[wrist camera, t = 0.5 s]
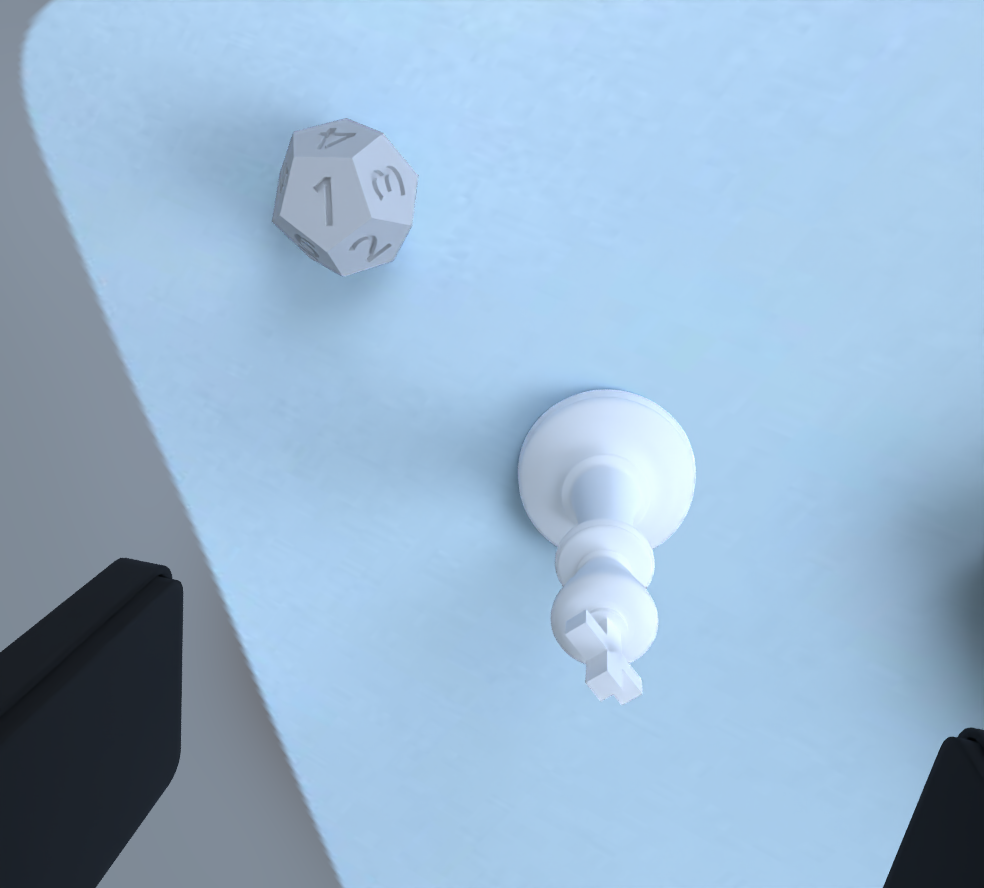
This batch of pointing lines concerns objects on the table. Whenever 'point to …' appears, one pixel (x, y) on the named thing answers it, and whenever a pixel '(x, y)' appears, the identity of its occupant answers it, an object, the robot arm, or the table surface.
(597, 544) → the chess piece
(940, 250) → the table surface
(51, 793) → the robot arm
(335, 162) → the game die
